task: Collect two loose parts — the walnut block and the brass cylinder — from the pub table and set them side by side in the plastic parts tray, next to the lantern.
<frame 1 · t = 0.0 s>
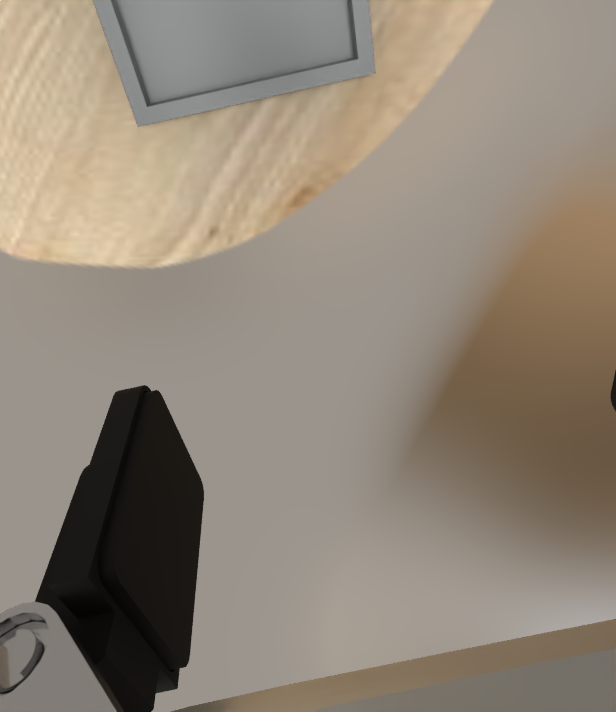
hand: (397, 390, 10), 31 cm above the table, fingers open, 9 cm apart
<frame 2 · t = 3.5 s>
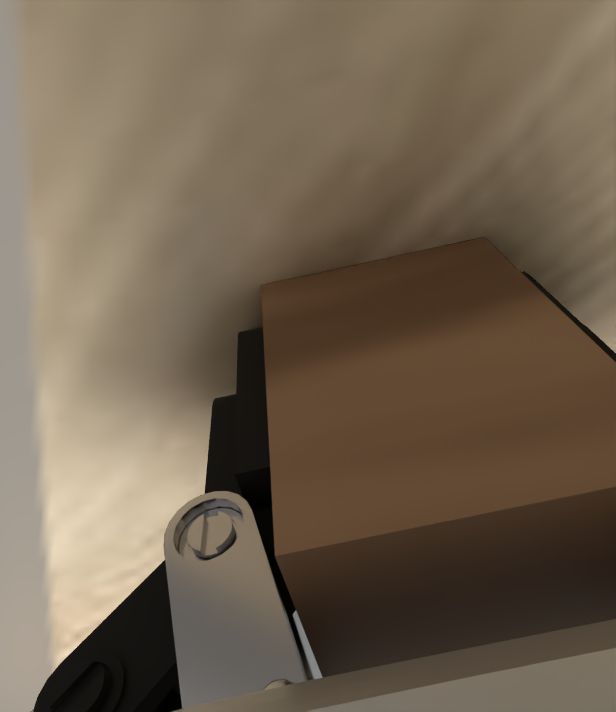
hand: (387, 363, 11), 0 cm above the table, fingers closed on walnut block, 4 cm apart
parts tray: (526, 582, 17), on the table
walnut block: (382, 352, 11), on the table, touching gripper
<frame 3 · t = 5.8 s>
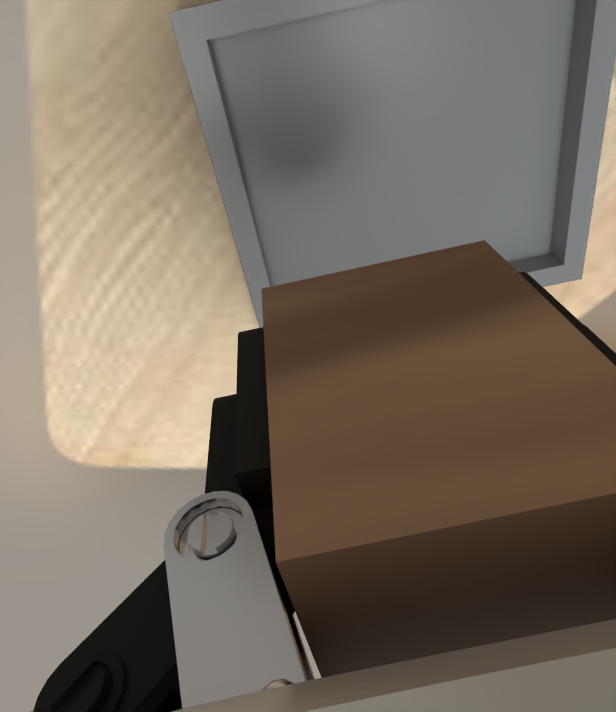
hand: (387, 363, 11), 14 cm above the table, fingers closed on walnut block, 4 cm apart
parts tray: (400, 157, 22), on the table
walnut block: (383, 355, 11), point 14 cm above the table, touching gripper
when the fingers open (3 cm above the table, at t = 8.2 s): walnut block drops 1 cm, resting on parts tray.
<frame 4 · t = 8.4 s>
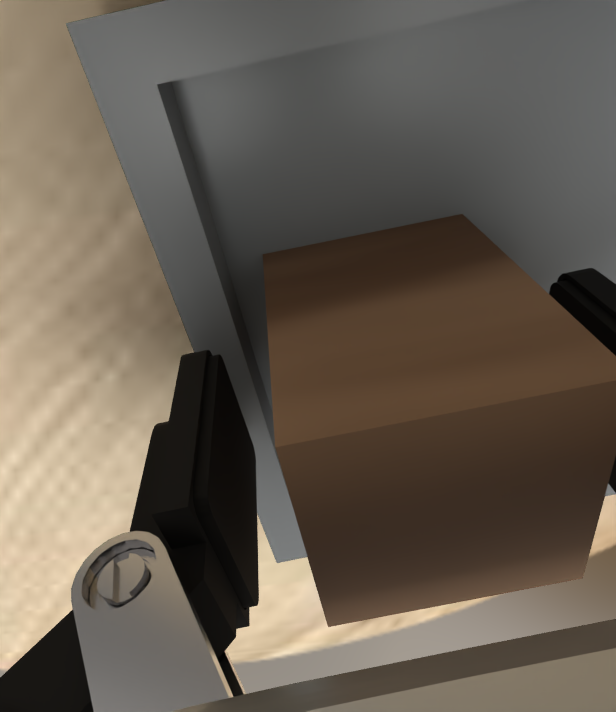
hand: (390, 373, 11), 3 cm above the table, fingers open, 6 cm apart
parts tray: (515, 272, 13), on the table
walnut block: (371, 319, 12), point 1 cm above the table, touching parts tray
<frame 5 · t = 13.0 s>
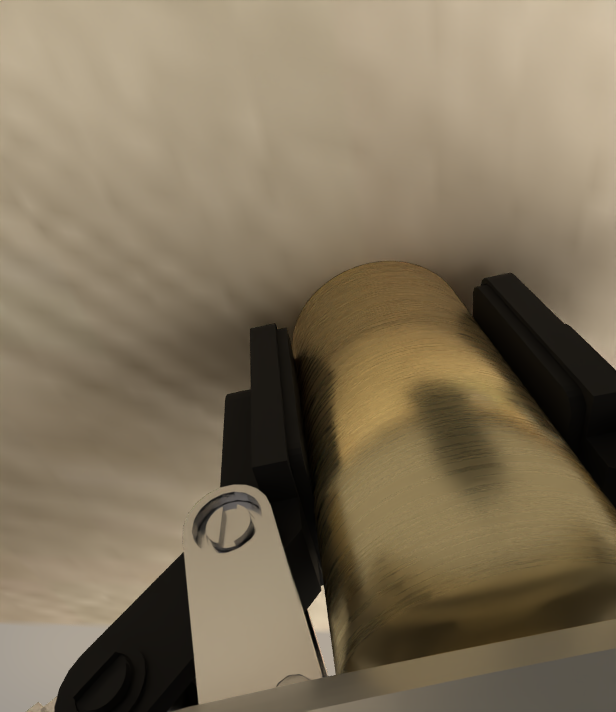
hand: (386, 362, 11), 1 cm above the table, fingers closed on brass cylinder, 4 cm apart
brass cylinder: (378, 341, 12), on the table, touching gripper
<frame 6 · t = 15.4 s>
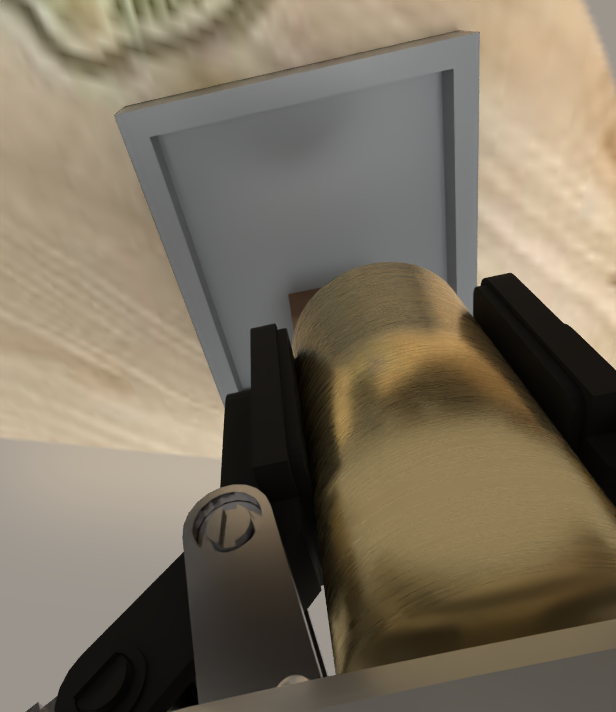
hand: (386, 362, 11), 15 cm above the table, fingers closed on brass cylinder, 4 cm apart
parts tray: (323, 248, 25), on the table
walnut block: (337, 322, 27), point 1 cm above the table, touching parts tray
brass cylinder: (378, 342, 11), point 14 cm above the table, touching gripper
when the fingers open (3 cm above the table, at t = 17.7 s): brass cylinder drops 1 cm, resting on parts tray.
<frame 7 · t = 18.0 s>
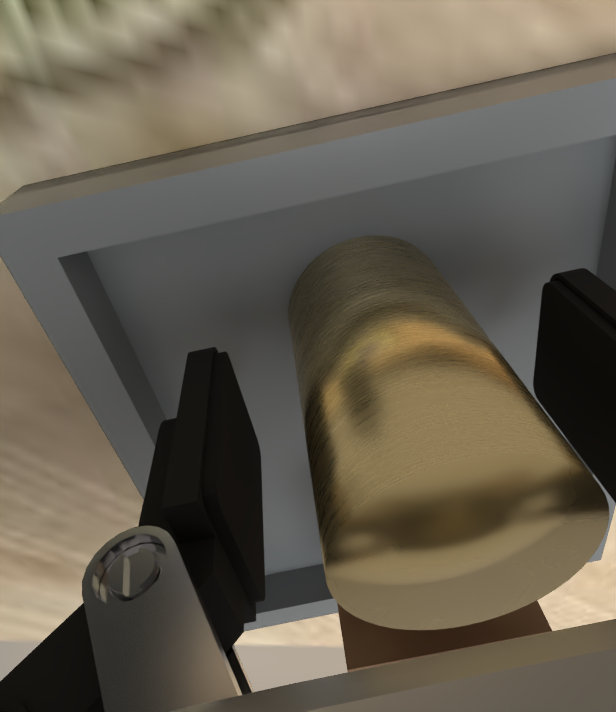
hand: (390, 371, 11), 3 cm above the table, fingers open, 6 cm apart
parts tray: (374, 394, 15), on the table
walnut block: (391, 496, 17), point 1 cm above the table, touching parts tray
brass cylinder: (366, 310, 13), point 1 cm above the table, touching parts tray
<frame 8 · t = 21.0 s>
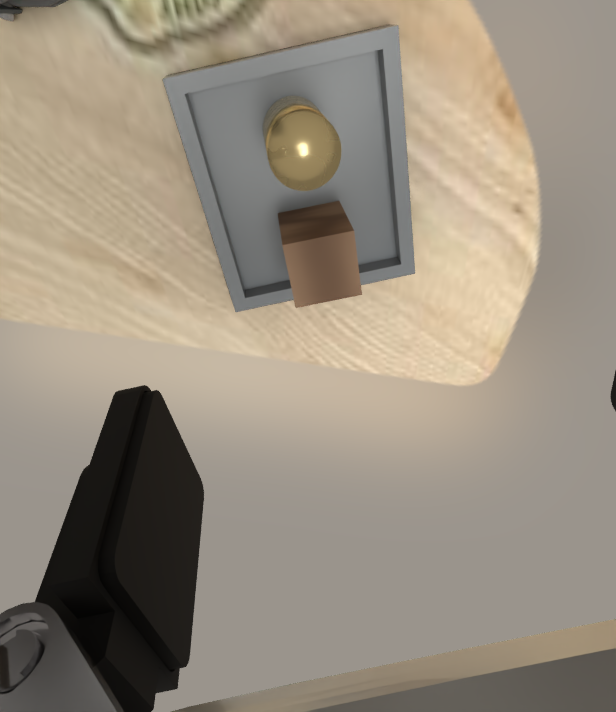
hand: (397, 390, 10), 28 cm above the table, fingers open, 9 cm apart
parts tray: (302, 180, 35), on the table
walnut block: (313, 236, 37), point 1 cm above the table, touching parts tray
brass cylinder: (293, 129, 33), point 1 cm above the table, touching parts tray
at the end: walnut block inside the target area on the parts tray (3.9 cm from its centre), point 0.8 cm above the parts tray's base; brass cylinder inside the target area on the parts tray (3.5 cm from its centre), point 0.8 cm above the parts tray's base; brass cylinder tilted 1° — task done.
